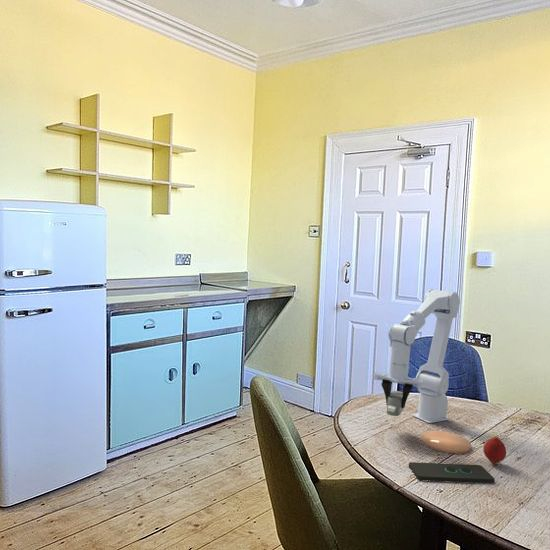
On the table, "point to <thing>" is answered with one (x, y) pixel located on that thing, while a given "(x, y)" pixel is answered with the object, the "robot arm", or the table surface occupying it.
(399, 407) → the connector
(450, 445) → the plate
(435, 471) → the smart home device
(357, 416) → the table surface
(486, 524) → the table surface
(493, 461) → the onion
